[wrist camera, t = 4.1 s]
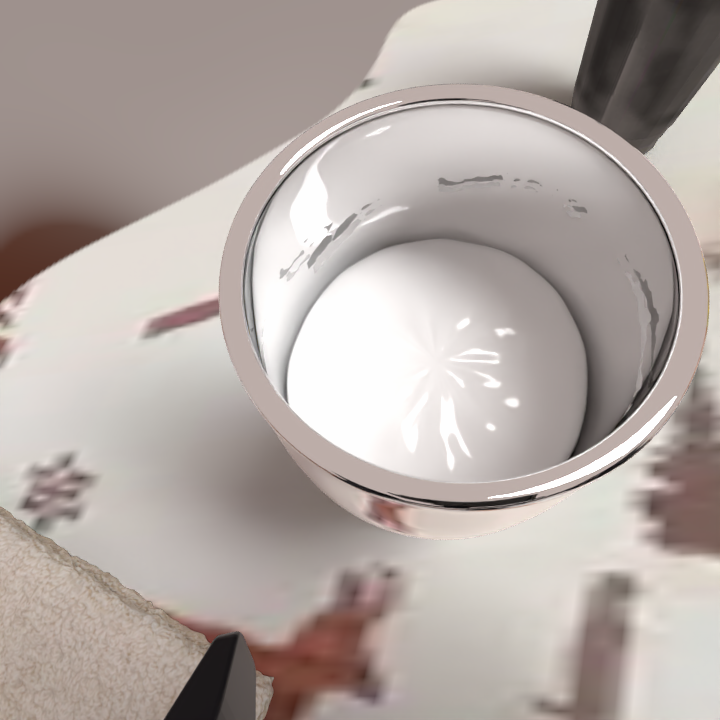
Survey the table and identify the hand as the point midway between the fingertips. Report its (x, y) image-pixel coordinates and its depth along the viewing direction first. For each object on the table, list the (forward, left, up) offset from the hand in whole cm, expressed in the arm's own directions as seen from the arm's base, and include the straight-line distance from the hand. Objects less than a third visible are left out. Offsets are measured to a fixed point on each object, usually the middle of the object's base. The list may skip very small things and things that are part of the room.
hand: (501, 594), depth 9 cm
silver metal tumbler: (+2, +4, -11) cm, 12 cm away
